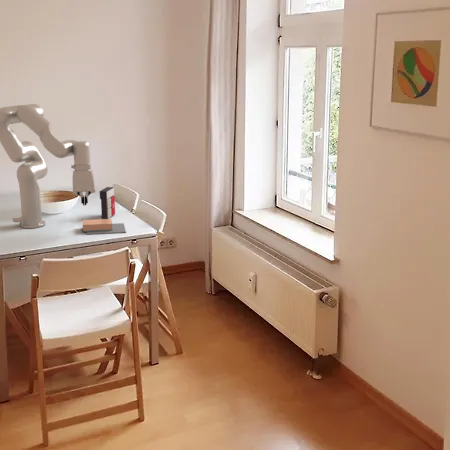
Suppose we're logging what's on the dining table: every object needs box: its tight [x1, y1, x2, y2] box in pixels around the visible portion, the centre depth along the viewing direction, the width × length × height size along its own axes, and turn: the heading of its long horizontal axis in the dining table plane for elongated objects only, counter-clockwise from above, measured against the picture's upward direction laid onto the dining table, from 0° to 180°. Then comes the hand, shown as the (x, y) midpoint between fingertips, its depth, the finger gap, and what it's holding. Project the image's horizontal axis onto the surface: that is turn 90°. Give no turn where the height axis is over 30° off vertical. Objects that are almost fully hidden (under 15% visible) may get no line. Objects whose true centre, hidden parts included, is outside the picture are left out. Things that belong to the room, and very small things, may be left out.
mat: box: [86, 222, 127, 236], centre depth 319 cm, size 18×16×1 cm
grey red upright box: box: [99, 186, 116, 219], centre depth 340 cm, size 11×4×15 cm, turn 168°
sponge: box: [82, 218, 113, 233], centre depth 318 cm, size 4×9×14 cm
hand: (84, 204), depth 314 cm, fingers closed
